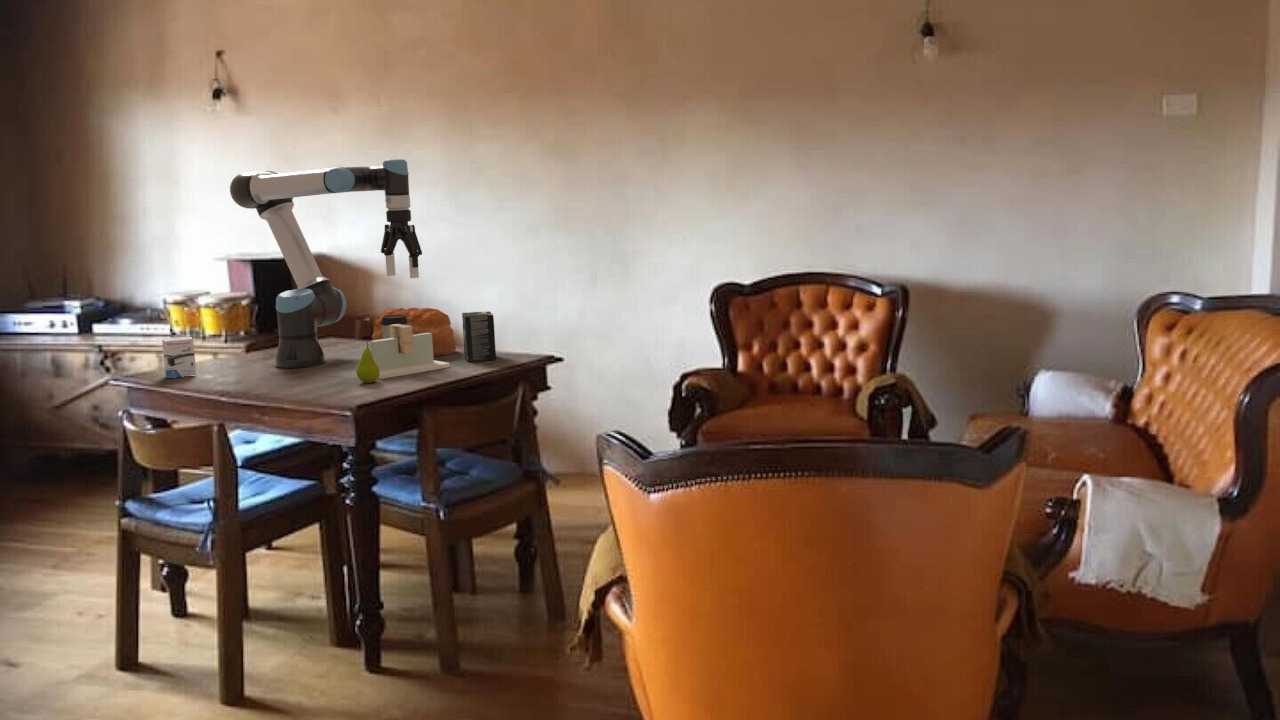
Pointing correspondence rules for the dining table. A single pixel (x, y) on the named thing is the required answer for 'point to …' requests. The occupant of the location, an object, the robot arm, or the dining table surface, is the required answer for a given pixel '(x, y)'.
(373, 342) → the slotted board
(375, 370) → the fruit
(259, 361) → the dining table surface
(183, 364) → the ink box
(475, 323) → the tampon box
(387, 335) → the coffee cup
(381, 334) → the bread
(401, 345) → the wooden block
